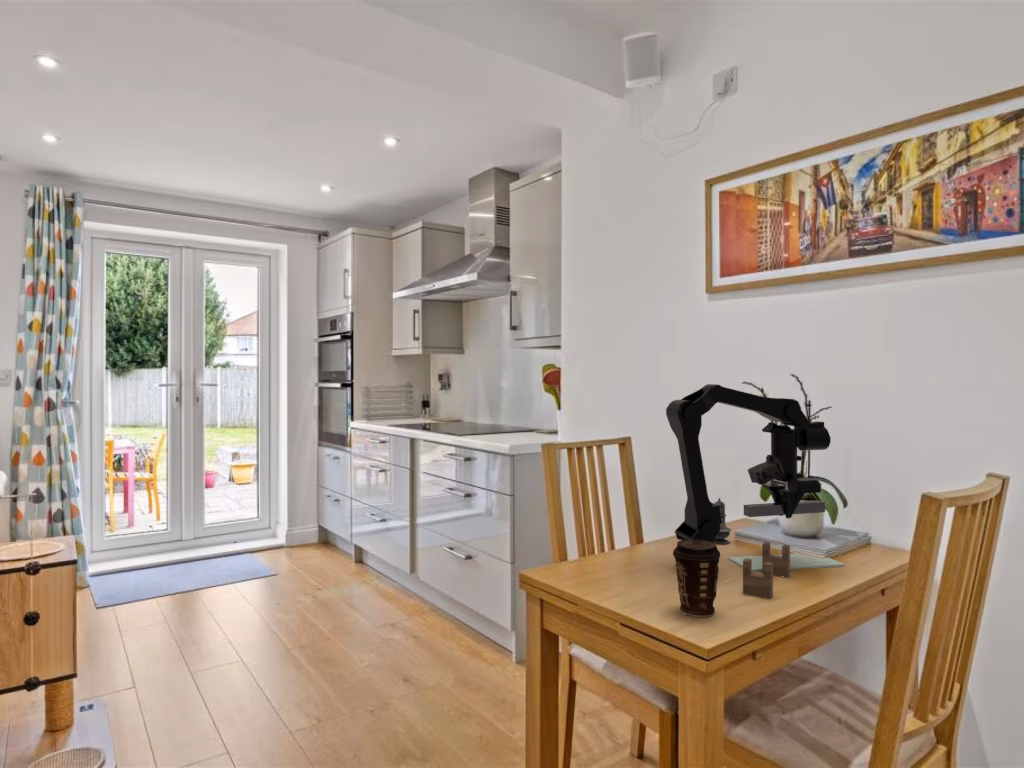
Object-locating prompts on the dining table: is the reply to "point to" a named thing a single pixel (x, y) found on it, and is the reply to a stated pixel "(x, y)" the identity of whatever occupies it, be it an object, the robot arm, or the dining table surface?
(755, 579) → the walnut cradles
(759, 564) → the sage mat
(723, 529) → the dark grey chess piece
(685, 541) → the coffee cup
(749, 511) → the black rail
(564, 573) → the dining table surface
